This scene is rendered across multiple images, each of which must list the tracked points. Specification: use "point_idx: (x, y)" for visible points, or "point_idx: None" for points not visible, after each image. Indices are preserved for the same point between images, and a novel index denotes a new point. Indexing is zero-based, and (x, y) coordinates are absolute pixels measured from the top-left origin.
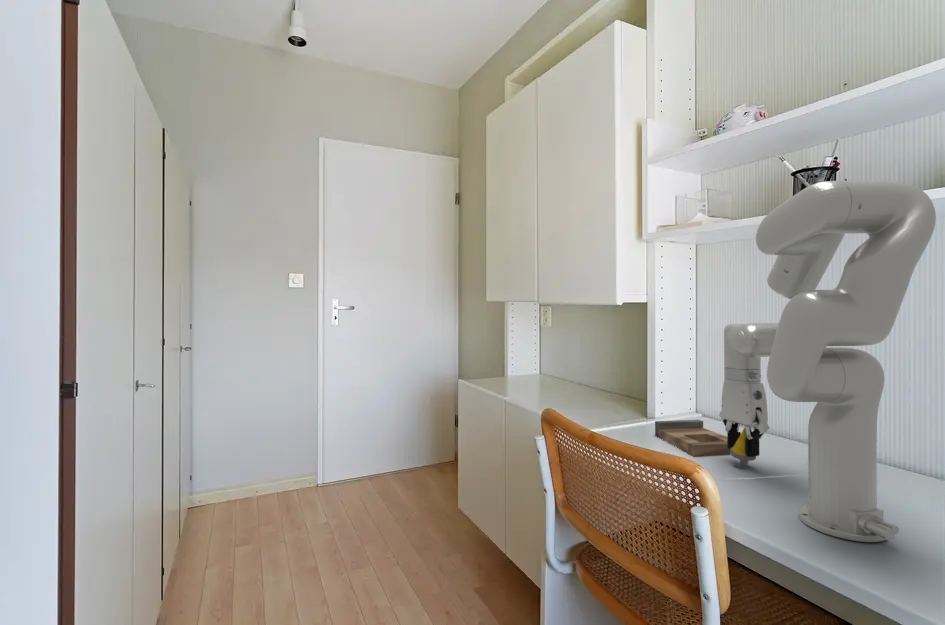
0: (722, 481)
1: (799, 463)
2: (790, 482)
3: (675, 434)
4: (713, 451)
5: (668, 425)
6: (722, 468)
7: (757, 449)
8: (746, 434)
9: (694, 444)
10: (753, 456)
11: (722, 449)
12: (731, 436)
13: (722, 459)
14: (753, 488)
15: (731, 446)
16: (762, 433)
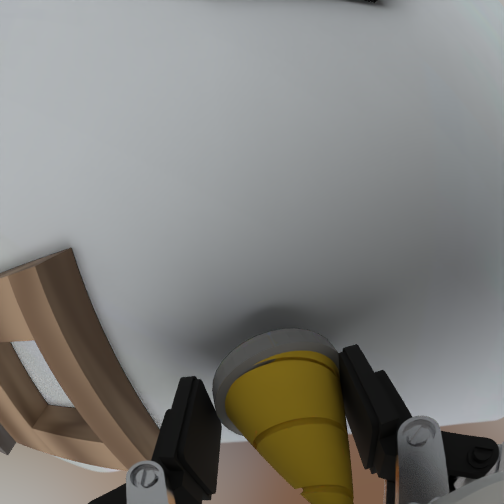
0: None
1: (196, 30)
2: (455, 248)
3: (38, 441)
4: (124, 398)
5: None
6: None
7: (388, 383)
8: (352, 486)
9: None
10: None
11: (102, 368)
12: (212, 474)
13: (169, 376)
14: (456, 377)
15: (218, 428)
16: (485, 446)
